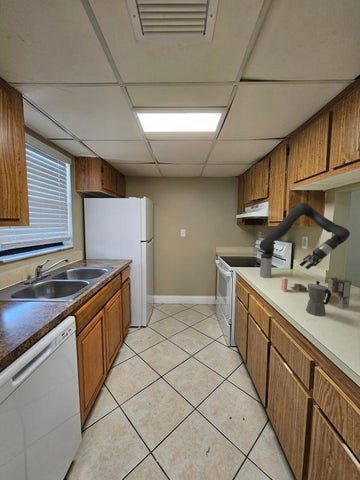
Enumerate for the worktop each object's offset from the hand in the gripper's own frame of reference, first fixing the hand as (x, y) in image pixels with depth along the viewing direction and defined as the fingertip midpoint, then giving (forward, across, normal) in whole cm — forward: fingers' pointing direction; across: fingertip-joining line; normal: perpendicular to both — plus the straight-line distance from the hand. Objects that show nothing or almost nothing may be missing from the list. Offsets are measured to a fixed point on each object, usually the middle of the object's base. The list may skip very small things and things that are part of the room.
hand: (303, 267), depth 143 cm
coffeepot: (+18, +34, +9) cm, 39 cm away
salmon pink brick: (+21, +1, +4) cm, 22 cm away
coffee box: (+5, +21, +21) cm, 30 cm away
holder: (+13, -3, +14) cm, 19 cm away
